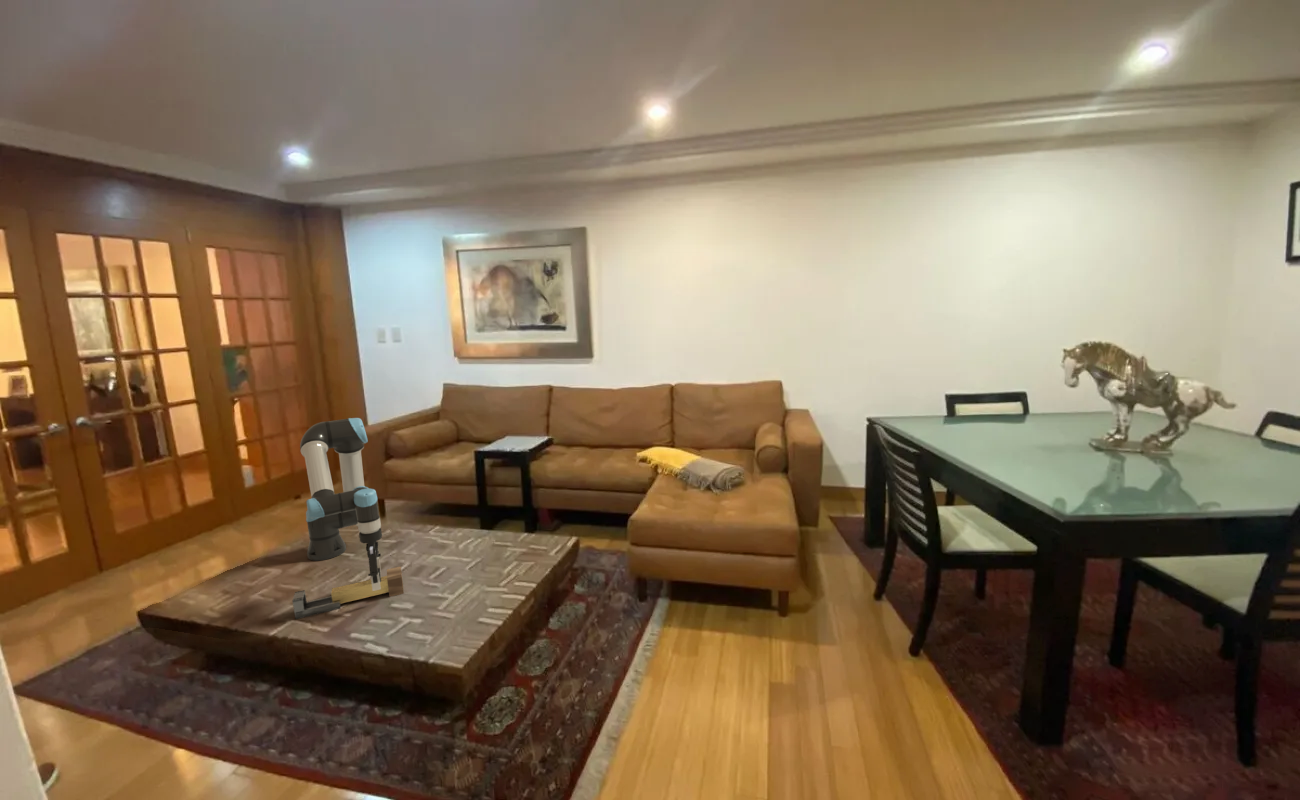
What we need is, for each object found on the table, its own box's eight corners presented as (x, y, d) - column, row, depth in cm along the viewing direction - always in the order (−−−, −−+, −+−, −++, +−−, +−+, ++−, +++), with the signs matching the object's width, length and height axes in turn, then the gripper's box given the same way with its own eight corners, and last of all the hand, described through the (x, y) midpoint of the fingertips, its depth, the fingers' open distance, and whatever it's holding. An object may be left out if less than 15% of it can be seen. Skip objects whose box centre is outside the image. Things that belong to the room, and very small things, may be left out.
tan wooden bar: (334, 600, 198) (330, 578, 196) (398, 585, 208) (395, 564, 206) (333, 605, 194) (329, 583, 193) (398, 589, 204) (395, 568, 202)
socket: (389, 588, 208) (386, 569, 206) (403, 584, 210) (400, 566, 208) (389, 596, 201) (386, 577, 200) (403, 593, 204) (401, 574, 202)
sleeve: (298, 610, 194) (295, 592, 193) (341, 600, 200) (338, 582, 199) (295, 619, 189) (292, 600, 187) (340, 608, 195) (337, 590, 193)
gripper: (360, 520, 207) (367, 569, 211) (357, 545, 185) (364, 599, 189) (381, 516, 211) (387, 565, 215) (380, 540, 189) (387, 594, 193)
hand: (377, 581), depth 202 cm, fingers open, 13 cm apart
